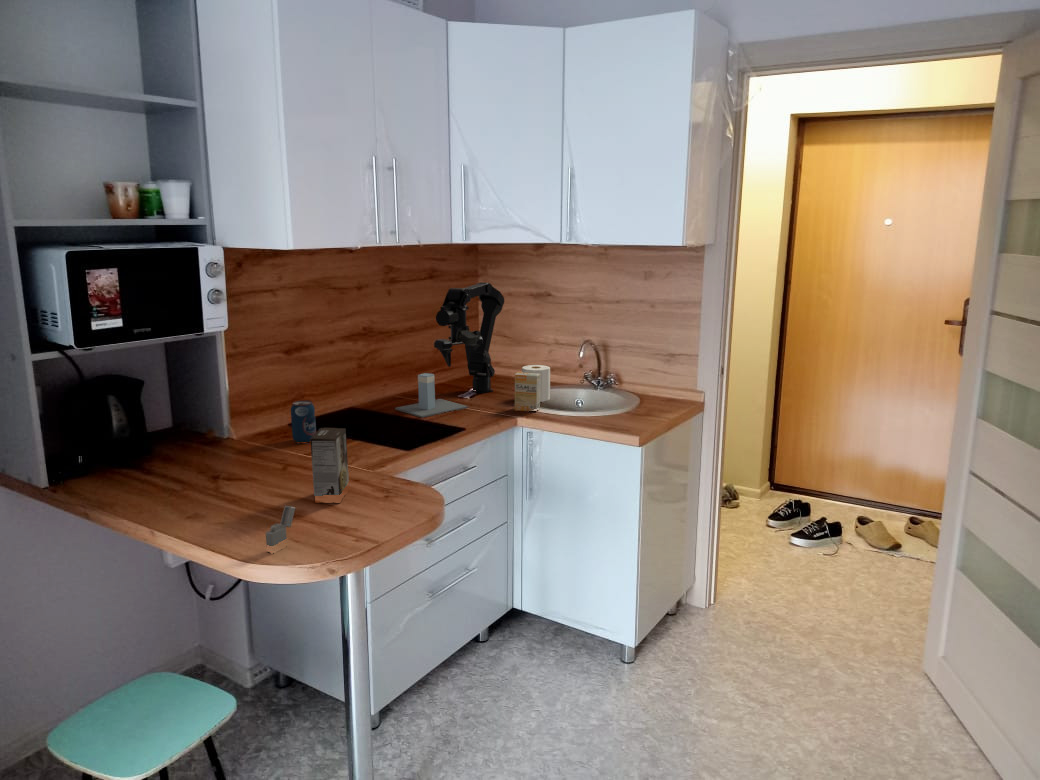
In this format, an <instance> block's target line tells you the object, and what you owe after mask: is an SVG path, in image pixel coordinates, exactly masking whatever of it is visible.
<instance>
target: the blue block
mask: <svg viewBox="0 0 1040 780" xmlns="http://www.w3.org/2000/svg"><path fill="white" fill-rule="evenodd" d="M435 381H436V380H435V374H434V373H430V372H429V373H428V372H424V373H420V374H418V375H417V385H418V386H417V387H418V403H419V409H426V410H429V409H432V408H435V400H436V390H435V387H436V386H435Z"/></svg>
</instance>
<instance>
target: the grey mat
mask: <svg viewBox="0 0 1040 780" xmlns="http://www.w3.org/2000/svg"><path fill="white" fill-rule="evenodd" d="M464 408H465V409H468V408H469V406H468V405H464V404H461V403H457V402H453V401H449V400H446V399H442V398H437V399H435V408H432V409H429V410H426V409H419V402H417V403H412V404H407V405H402V406H397V407H395V408H394V409H395V410H397V411H399V412H402V413H406V414H409V415H412V416H415V417H419V418H422V419H423V418H427V417H433V416H437V415H441V413H442V414H445V413H444V412H446V413H450V412H449V411H451V412H455V411H454V410H456V411H460V410H465V409H464ZM436 414H437V415H436Z"/></svg>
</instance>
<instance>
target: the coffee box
mask: <svg viewBox="0 0 1040 780" xmlns="http://www.w3.org/2000/svg"><path fill="white" fill-rule="evenodd" d="M310 440H311V443H310V451H311V452H310V453H311V468H312V470H311V471H312V484H313V497H314V496H323V495H340V494H341V493H342V491H343V490H344V488H345V487H346V486H347V484H348V482H349V483H350V481H349V480H350V479H349V478H350V477H349V461H348V446H347V445H348V444H347V429H346V428H341V427H340V428H338V427H320V428H319V429H318V430H316V433H315V434H314V435H313V436H312V437H311V438H310Z"/></svg>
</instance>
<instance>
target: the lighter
mask: <svg viewBox="0 0 1040 780" xmlns="http://www.w3.org/2000/svg"><path fill="white" fill-rule="evenodd" d="M295 512H296V507H295V506H292V505H291V506H290V505H284V508H283V511H282V516H281V519H280V523H274V524H273V525H270V529H269V530H268V531H265V542H266V546H267V545H269V546H274V545H276V544H278V543H279V542H281V541H283V540H285V539H287V530H286V529H287V528H291V527H292V523H293V519H294V514H295ZM287 540H288V539H287Z"/></svg>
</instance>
